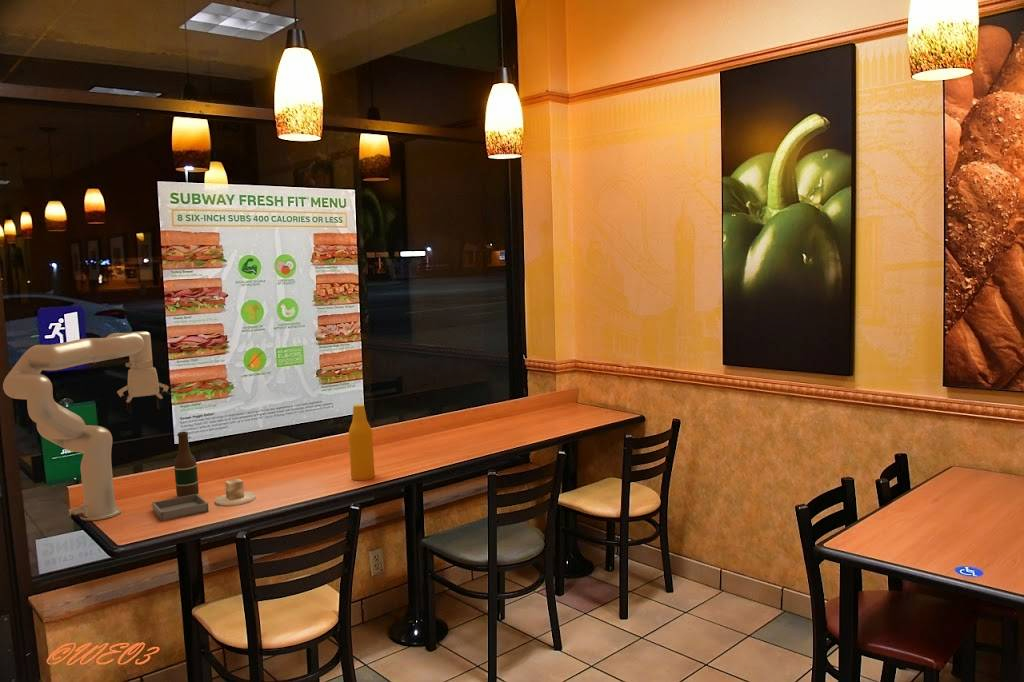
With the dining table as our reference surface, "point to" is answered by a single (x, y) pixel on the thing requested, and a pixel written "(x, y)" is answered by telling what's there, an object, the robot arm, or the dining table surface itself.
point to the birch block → (234, 489)
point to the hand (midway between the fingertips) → (145, 410)
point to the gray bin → (179, 507)
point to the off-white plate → (225, 501)
